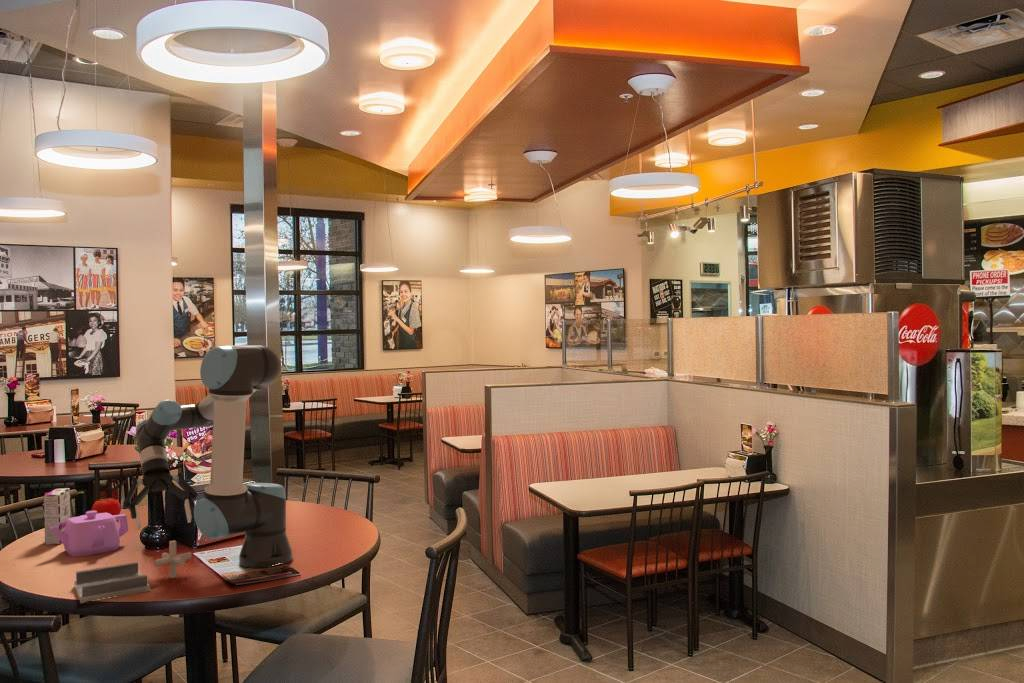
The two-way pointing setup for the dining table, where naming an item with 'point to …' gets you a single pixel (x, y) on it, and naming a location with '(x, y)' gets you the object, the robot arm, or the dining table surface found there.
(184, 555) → the pipe connector
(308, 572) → the dining table surface
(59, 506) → the candy bar box
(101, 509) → the tomato
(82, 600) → the cradle plate
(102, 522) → the teakettle
